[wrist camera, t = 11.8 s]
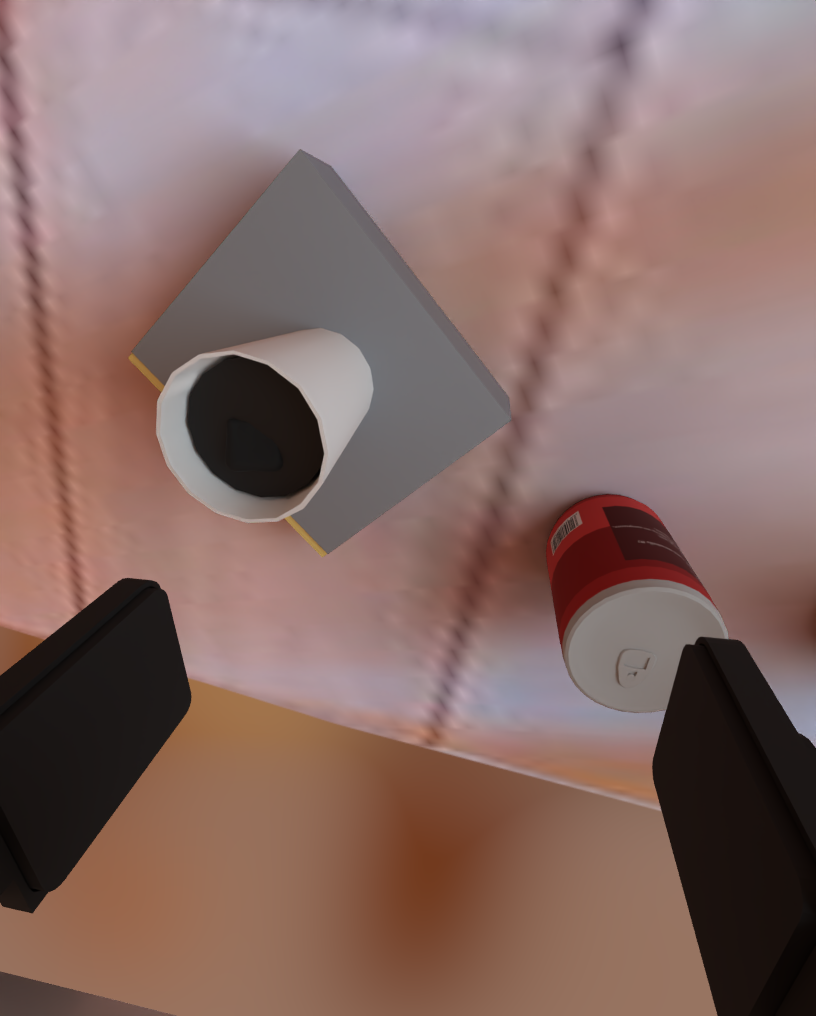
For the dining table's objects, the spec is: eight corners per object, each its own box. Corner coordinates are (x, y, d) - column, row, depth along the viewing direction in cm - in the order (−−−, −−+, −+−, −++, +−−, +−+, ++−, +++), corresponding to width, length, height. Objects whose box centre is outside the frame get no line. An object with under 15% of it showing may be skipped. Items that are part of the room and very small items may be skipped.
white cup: (379, 449, 29) (328, 533, 20) (265, 436, 30) (168, 512, 21) (384, 324, 26) (328, 359, 17) (258, 313, 27) (141, 341, 18)
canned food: (547, 595, 38) (566, 715, 28) (541, 495, 34) (560, 590, 24) (661, 590, 36) (723, 715, 26) (666, 484, 33) (739, 582, 23)
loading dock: (509, 397, 32) (511, 420, 27) (341, 522, 37) (321, 558, 33) (330, 166, 28) (299, 148, 23) (174, 345, 34) (125, 358, 29)
